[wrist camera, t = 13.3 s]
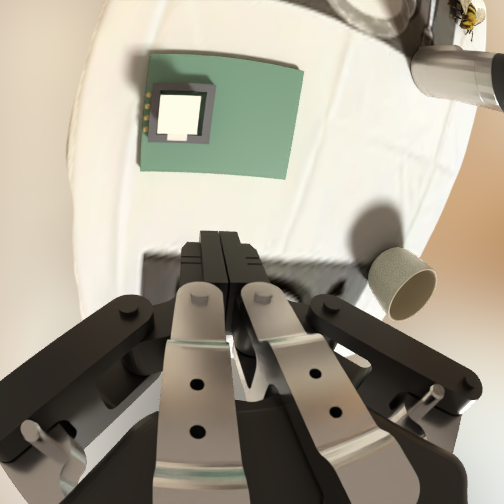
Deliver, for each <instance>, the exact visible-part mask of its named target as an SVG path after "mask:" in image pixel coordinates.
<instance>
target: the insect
mask: <svg viewBox="0 0 504 504" xmlns="http://www.w3.org/2000/svg"><path fill="white" fill-rule="evenodd" d="M455 1H456V2H457V3H458V4H460V5H461V7H462V8H461V10H459V9H457V8H456V7H453V6H451V5H450V4H448V5H449V6H451V7H453V8H454V9H455V10H457V11H460V12H461V15H462V13H463V12H464V13H463V15H462V19H461V18H460V17H458V16H455V17H451V19H453V18H459V19H461V23H460V25H459V26H460V27H461V28H463V29H467V33H468V32H469V30H470V32H471V31H472V29H473V26H476V25H478V24H480V23H481V22H482V21H483V20H484V18H485V11H484V9H483V8H481V9H480V8H478V11H477V16H476V9H475V7H474V6H473V4H472V3H471V0H460V2H459V1H458V0H455ZM470 32H469V34H470ZM467 33H466V34H467ZM466 34H465V35H466ZM472 37H473V32H472ZM471 42H472V39H471Z"/></svg>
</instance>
